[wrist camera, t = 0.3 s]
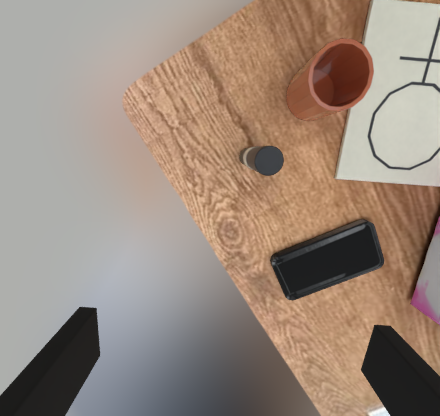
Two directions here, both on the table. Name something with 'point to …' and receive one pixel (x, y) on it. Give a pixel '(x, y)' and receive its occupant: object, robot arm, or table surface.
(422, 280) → the gum box
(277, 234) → the table surface
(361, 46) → the pen cup
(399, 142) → the notepad
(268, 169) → the marker
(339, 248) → the phone
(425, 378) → the robot arm
